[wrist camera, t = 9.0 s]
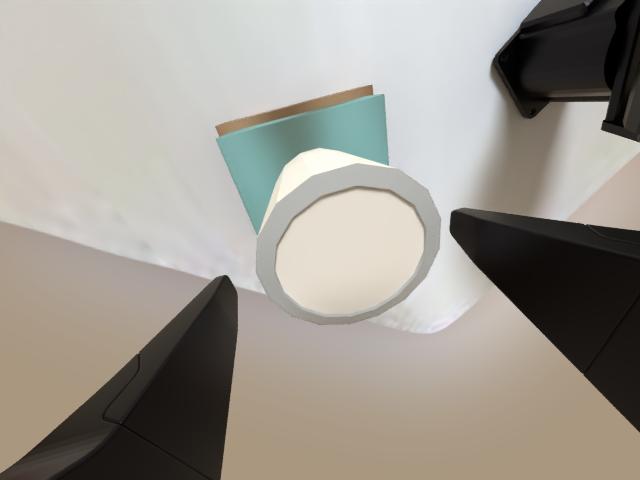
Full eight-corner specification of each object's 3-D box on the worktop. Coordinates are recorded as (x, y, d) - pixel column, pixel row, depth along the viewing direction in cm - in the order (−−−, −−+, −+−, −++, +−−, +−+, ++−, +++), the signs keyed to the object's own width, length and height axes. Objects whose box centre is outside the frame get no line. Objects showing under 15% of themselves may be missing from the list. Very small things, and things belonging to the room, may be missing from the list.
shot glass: (282, 115, 12) (288, 125, 6) (393, 160, 14) (482, 201, 8) (251, 230, 15) (235, 317, 9) (348, 253, 17) (387, 335, 11)
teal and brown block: (357, 87, 17) (392, 80, 12) (371, 209, 22) (400, 241, 17) (224, 122, 17) (201, 131, 12) (270, 238, 22) (268, 278, 17)
